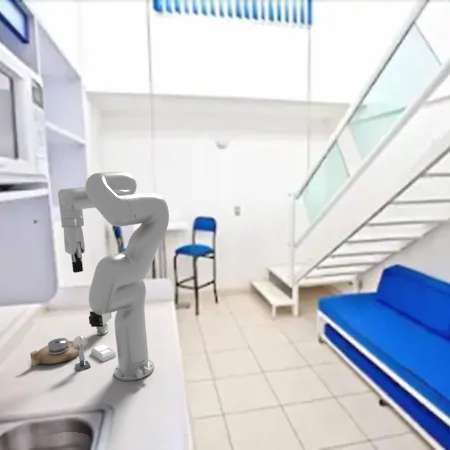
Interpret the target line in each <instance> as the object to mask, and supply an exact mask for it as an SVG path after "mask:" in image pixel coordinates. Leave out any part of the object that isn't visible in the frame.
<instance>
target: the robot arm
mask: <svg viewBox="0 0 450 450" xmlns="http://www.w3.org/2000/svg"><path fill="white" fill-rule="evenodd" d="M137 185H138V184H137V181H136V179H135V177H133V176H132V175H131V174H129V173H127V172H123V171H110V172H97V173H96V172H95V173H93V174H91V175H89V177H88V178H87V179H86V182H85V186H84V187H83V186H82V187H71V188H61V189H58V191H57V192H58V193H57V196H58V205H59V213H60V223H61V229H62V228H63V243H64V251H65V253H67V254H68V255H70V257H71V265H72V266H71V267H72V272H73V273H74V274H76V273H80V272H83V271H84V267H83V254H84V253H85V252H86V246H85V238H84V231H83V226H85V223H84V214H83V210H85V209H96V210H97V211H98V212H99V213H100V214H101V215H102V217H103V218H104V219H105V220H106V222H108V223H109V224H110V225H112V226H114V227H118V228H119V227H127V226H132V225H139V224H140V225H139V226H138V227H137V228H136V230H135V231H133V233H132V234H131V235H130V237H129V240H128V242H127V246H126V248H125V250H123V251H122V252H119V253H115V254H110V255H108V256H104V257H103V258H102V259H100V260H99V261H98V263H97V265H96V267H95V270H94V274H93V278H92V281H91V285H90V288H89V292H88V293H89V294H88V303H89V307H90V309H91V311H93V312H94V313H96V314H98V315H105V314H109V313H111V314H112V313H114V312H115V318H114V332H115V341H116V343H115V344H116V353H117V354H116V355H117V362H118V364H117V365H116V366H115V368H114V371H113V372H114V377H115V378H116V379H118V380H120V381H125V382H126V381H128V382H130V381H131V382H132V381H137V379H138V380H141V379H143V377H144V378H145V376H146V377H148V376H149V375H150V374H151V373H152V372H153V371H154V369H155V364H154V361H152V360H151V359H149V352H148V340H147V339H148V338H147V328H146V314H145V313H146V312H145V305H146V302H145V301H146V295H147V289H146V288H147V287H146V284H145V282H144V279H145V278H146V277H147V276H148V275H149V273H150V270H151V268H152V264H153V262H154V259H155V256H156V255H157V250H158V248H159V247H160V244H161V242H162V240H163V238H164V236H165V234H166V232H167V229H168V227H169V223H170V222H169V220H170V214H169V207H168V204H167V201H166V200H165V198H164V197H162V196H161V195H159V194H156V193H154V192H153V193H150V192H149V193H148V192H143V193H135V192H136V191H137V187H138V186H137Z"/></svg>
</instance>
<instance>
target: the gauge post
mask: <svg viewBox="0 0 450 450" xmlns="http://www.w3.org/2000/svg"><path fill="white" fill-rule="evenodd" d="M72 341H73V346H74V348H75V349H77V350H78V351H79V354H78V357H79V362H78V363H75V364H74V366H75V369H76V370H77V372H80V371H84V370H86V369H89V368H91V364H90V363H89V361H88V360H85V352H84V351H85V350H84V349H85V348H86V347H87V345H88V339H87V338H86V337H85V336H84V335H78V336H77V337H75V338H74V339H73V340H72Z"/></svg>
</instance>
